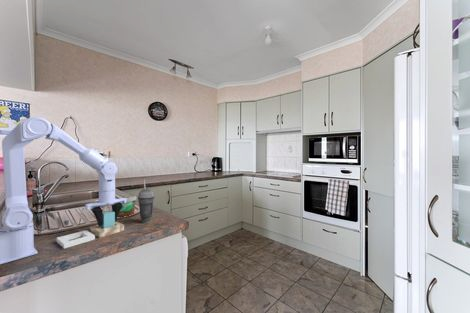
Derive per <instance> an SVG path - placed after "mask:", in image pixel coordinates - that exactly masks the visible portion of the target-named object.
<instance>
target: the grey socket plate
mask: <svg viewBox="0 0 470 313" xmlns="http://www.w3.org/2000/svg"><path fill="white" fill-rule="evenodd" d="M94 240H96V236H95V235H94V234H92V233H91V231H89V230H87V229H86V230H85V229H84V230H80V231H78V232H74V233H70V234H65V235H61V236H57V237H56V243H57V244H58V245H59V246H61V248H62V249H67V248H71V247H73V246H77V245H81V244H84V243H87V242H91V241H94Z"/></svg>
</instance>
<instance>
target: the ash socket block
mask: <svg viewBox="0 0 470 313" xmlns="http://www.w3.org/2000/svg"><path fill="white" fill-rule="evenodd" d="M124 231H125V224H123V223H121V222H119V221H117V222H115V226H112V227H108V228H105V229H102V228H100V226H99V225H98V224H95V225H92V226H90V233H92V234H94V235H95V237H97V238H100V239H101V238H103V237H104V238H105V237H107V236H111V235H113V234H118V233H121V232H124Z"/></svg>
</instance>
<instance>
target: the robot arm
mask: <svg viewBox="0 0 470 313" xmlns="http://www.w3.org/2000/svg"><path fill="white" fill-rule="evenodd" d="M43 137H45V138H44V139H45V140H51V141H56V142H58V143H60V144H62V145H63V146H65V147H66V148H68V149H70V151H73V152H74V153H76V154H77V155H78V156H79V157H78V158H79V160H80V161H81V162H83V163H84V164H86V165H87V166H89V167H90V168H92V169H93V170H95V171H96V173H97V174H98V201H95V202H91V203H85V208H84V209H85V210H87V211H89V210H91V212H92V213H93V215H94V218H95V220H96V222H97V225H99V226H102V212H104V211H103V210H104V209H102V208H103V207H108V206H111V211H113V212H115V222H118V221H117V220H118V218H117V217H118V214H119V212H120V210H121V208H122V204H121V203H126V198H122V197H118V198H119V199H115V198H116V174H117V172H118V169H119V168H118V167H117V165H116V164H115V163H114V162H113V161H109V158H108V157H104V156H103V155H102V154H101V153H99V150H97V149H94V148H92V147H89V148H88V147H87V148H86V147H85V146H84V145H82V144H81V143H79V141H77V140H75V138H73V137H72V136H71V135H69V134H68V133H67V132H65V131H64V130H63V129H62V128H60V127H58V126H57V125H56V124H54V123H51V122H50V121H48V120H47V119H46V118H44V117H42V116H41V117H40V116H32V117H31V116H30V117H29V118H26V119H25V120H22V121H20V122H18V124H17V125H15V127H14V128H12V130H10V132H8V134H7V135H5V137H3V138H2V141H1V148H2V164H3V168H2V169H3V181H4V182H3V184H4V186H3V187H4V201H5V202H4V203H5V204H4V208H3V211H2V212H1V217H0V218H1V224H2V226H0V265H3V264H6V263H9V262H13V261H17V260H20V259H23V258H27V257H31V256H33V255H37V254H38V253H39V252H38V251H37V249H36V248H35V246H34V245H35V244H34V243H35V242H34V240H35V239H34V238H35V237H34V235H35V234H34V232H35V231H34V229H35V228H34V222H33V218H34V215H33V212H32V211H31V209H30V208H29V202H28V196H27V195H28V194H27V193H28V192H27V180H26V175H27V174H26V161H25V160H26V158H25V147H26V146H28V144H30V143H32V142H33V141H35V140H38V139H40V138H43Z"/></svg>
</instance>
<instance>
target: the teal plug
mask: <svg viewBox="0 0 470 313" xmlns="http://www.w3.org/2000/svg"><path fill="white" fill-rule="evenodd" d="M112 226H115V212H113V211H112V209H111V210H106V211H103V212H102V226H100V228H102V229H105V228H108V227H112Z"/></svg>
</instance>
